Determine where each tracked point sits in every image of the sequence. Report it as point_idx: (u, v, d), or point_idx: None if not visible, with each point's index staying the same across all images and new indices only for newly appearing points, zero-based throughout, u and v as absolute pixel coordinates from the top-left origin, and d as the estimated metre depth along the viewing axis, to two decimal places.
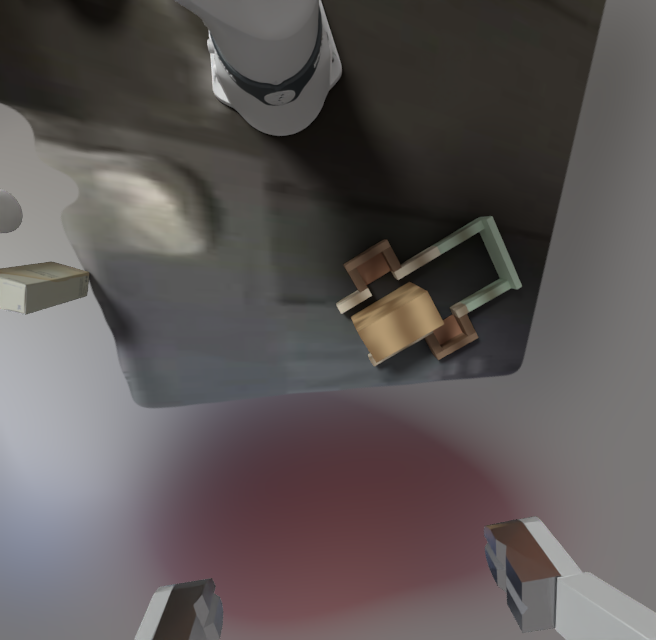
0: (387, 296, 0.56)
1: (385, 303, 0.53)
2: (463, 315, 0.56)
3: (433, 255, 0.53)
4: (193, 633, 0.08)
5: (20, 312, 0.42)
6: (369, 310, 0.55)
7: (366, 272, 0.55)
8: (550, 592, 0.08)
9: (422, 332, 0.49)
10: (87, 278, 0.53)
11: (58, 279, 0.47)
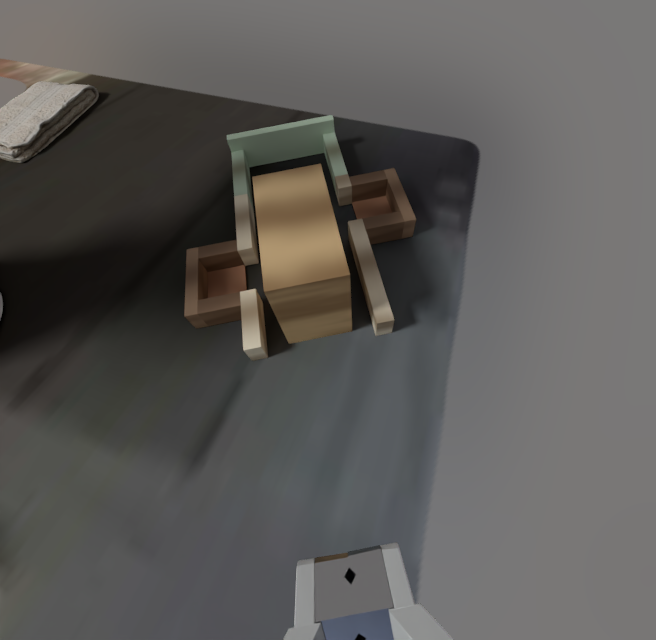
0: None
1: None
2: (349, 181, 0.36)
3: (243, 201, 0.35)
4: (353, 603, 0.08)
5: None
6: None
7: None
8: (385, 623, 0.08)
9: (320, 192, 0.26)
10: None
11: None
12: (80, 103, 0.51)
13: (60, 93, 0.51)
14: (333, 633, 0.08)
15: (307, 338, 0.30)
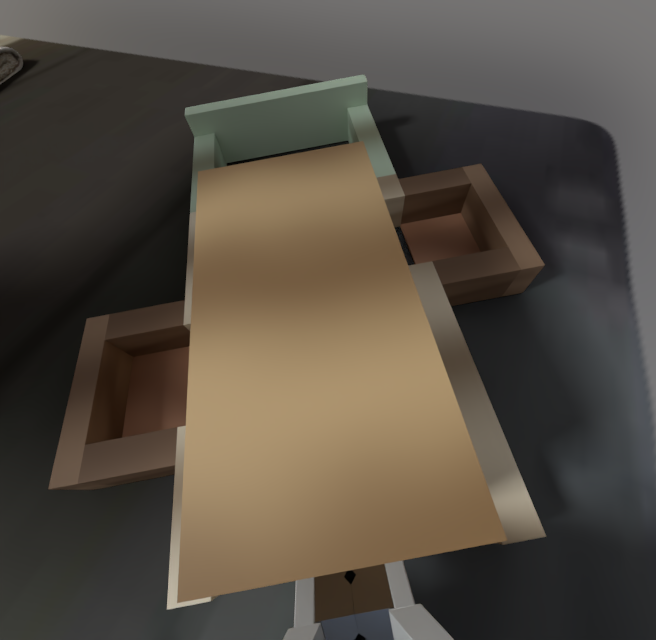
0: None
1: None
2: (400, 187, 0.20)
3: None
4: (353, 603, 0.08)
5: None
6: None
7: (164, 417, 0.16)
8: (385, 623, 0.08)
9: (368, 213, 0.10)
10: None
11: None
12: None
13: None
14: (333, 633, 0.08)
15: None
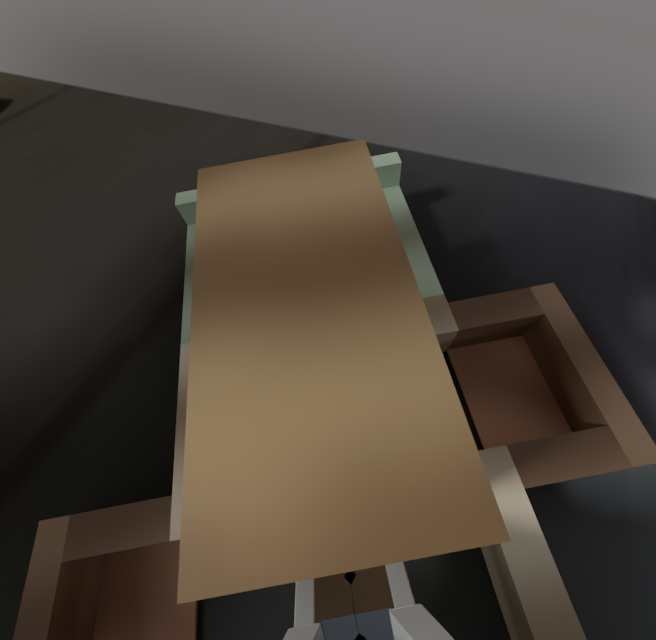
0: None
1: None
2: (451, 315, 0.15)
3: None
4: (353, 603, 0.08)
5: None
6: None
7: None
8: (386, 622, 0.08)
9: (369, 211, 0.10)
10: None
11: None
12: None
13: None
14: (333, 633, 0.08)
15: None
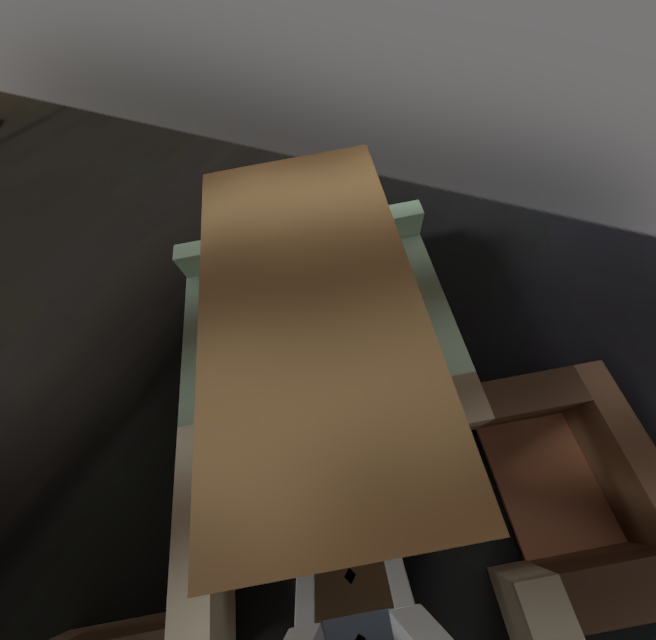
0: None
1: None
2: (485, 398, 0.13)
3: None
4: (354, 603, 0.08)
5: None
6: None
7: None
8: (385, 623, 0.08)
9: (371, 216, 0.10)
10: None
11: None
12: None
13: None
14: (333, 633, 0.08)
15: None
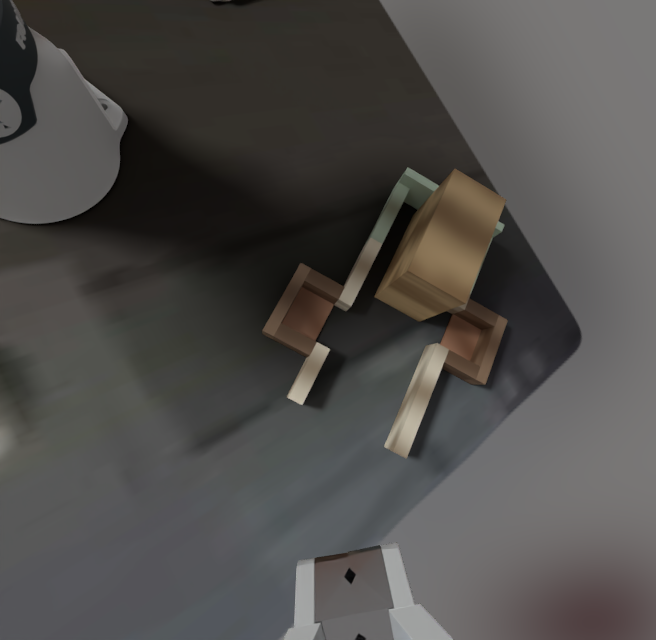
0: (401, 241, 0.38)
1: (408, 239, 0.35)
2: (466, 303, 0.36)
3: (374, 250, 0.35)
4: (353, 602, 0.08)
5: None
6: (393, 265, 0.35)
7: (302, 325, 0.34)
8: (385, 623, 0.08)
9: (490, 224, 0.31)
10: None
11: None
12: None
13: None
14: (333, 633, 0.08)
15: (388, 303, 0.36)
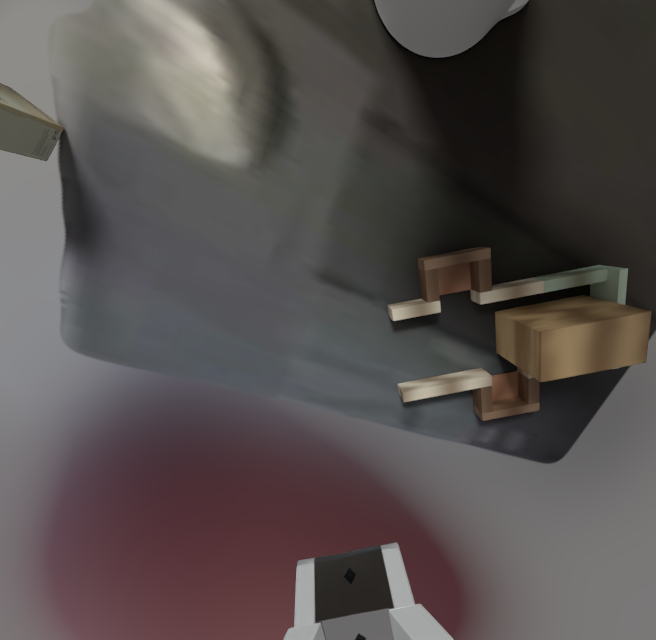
0: (553, 302, 0.42)
1: (561, 309, 0.39)
2: None
3: (535, 290, 0.40)
4: (354, 603, 0.08)
5: None
6: (531, 310, 0.41)
7: (441, 280, 0.41)
8: (385, 622, 0.08)
9: (615, 363, 0.36)
10: (57, 135, 0.34)
11: (6, 106, 0.28)
12: None
13: None
14: (333, 633, 0.08)
15: (496, 325, 0.43)
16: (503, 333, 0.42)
